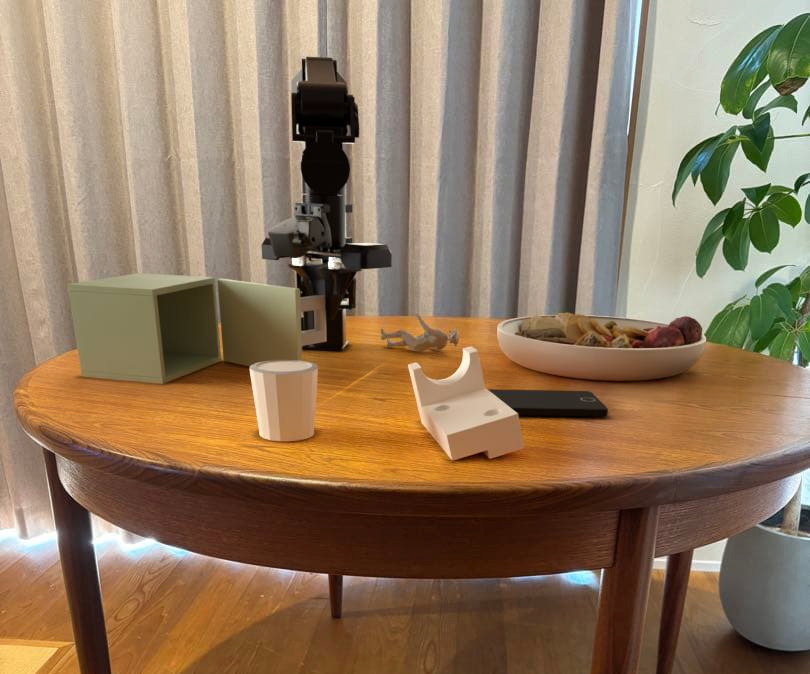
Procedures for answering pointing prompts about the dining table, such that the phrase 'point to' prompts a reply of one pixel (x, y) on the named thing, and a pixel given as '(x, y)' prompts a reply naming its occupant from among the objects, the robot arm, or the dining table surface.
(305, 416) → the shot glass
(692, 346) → the bowl
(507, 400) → the cell phone
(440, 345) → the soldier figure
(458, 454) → the bracket
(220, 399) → the dining table surface
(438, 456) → the dining table surface
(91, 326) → the cupboard
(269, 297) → the cupboard door
